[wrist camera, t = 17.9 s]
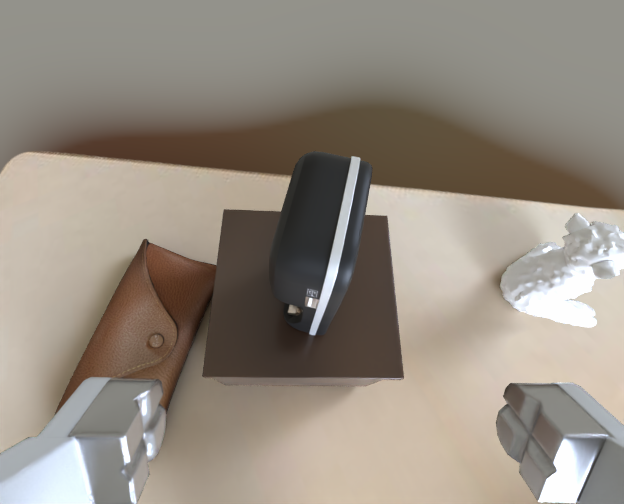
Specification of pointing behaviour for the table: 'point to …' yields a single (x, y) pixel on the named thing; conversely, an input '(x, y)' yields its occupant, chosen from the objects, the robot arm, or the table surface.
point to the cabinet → (290, 341)
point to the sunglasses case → (149, 321)
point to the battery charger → (318, 238)
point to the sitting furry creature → (565, 272)
